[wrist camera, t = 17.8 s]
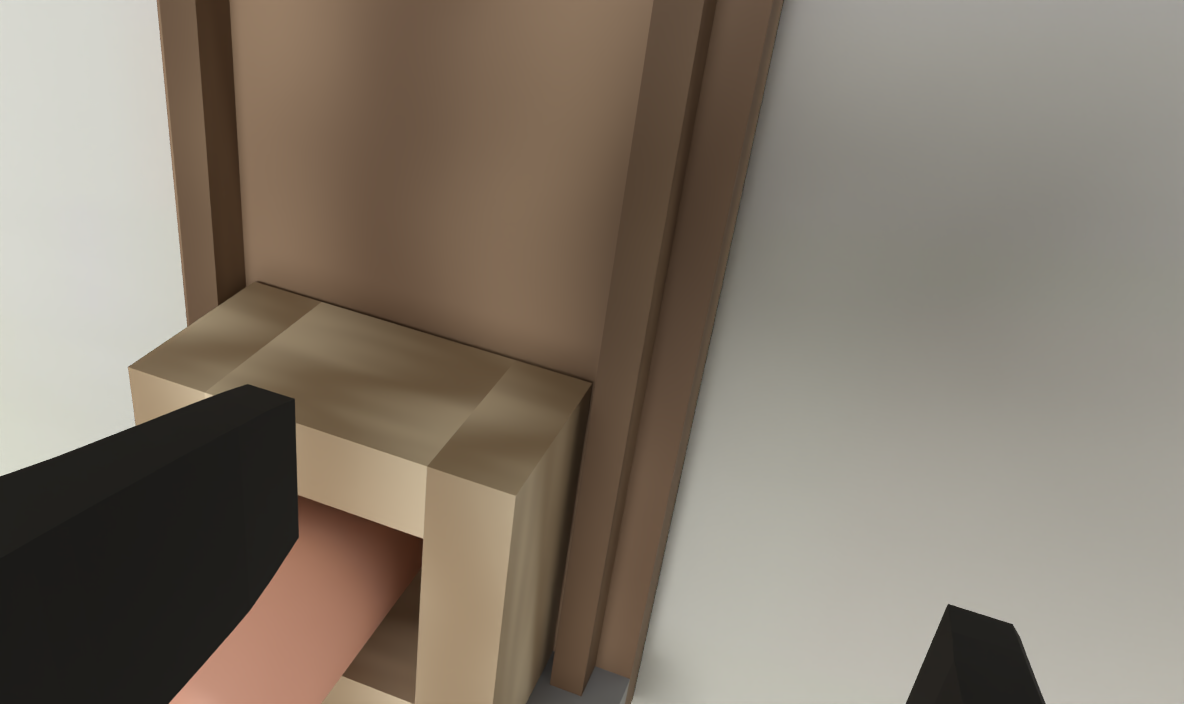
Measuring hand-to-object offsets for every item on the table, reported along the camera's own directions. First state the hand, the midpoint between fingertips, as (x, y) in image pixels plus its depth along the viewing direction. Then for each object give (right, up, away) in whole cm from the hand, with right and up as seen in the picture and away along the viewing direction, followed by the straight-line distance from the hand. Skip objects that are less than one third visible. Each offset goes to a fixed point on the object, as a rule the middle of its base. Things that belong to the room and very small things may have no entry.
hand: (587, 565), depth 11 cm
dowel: (-4, -1, +13) cm, 14 cm away
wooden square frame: (-4, -1, +13) cm, 14 cm away
